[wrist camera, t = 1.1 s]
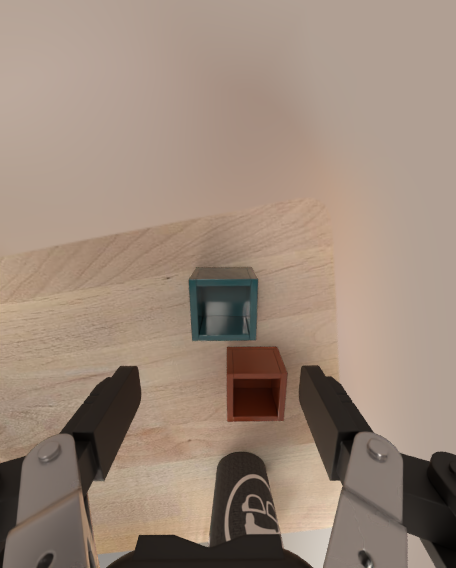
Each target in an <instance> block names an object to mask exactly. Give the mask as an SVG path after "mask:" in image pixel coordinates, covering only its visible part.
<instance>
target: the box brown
mask: <svg viewBox="0 0 456 568" xmlns="http://www.w3.org/2000/svg"><path fill="white" fill-rule="evenodd" d="M287 375H288V373H287V371H286V368H285V366H284V363H283V360H282V358H281V355H280V353H279V350H278V348H277V347H227V422H233V421H234V422H237V421H284V411H285V399H286V387H287Z"/></svg>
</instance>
